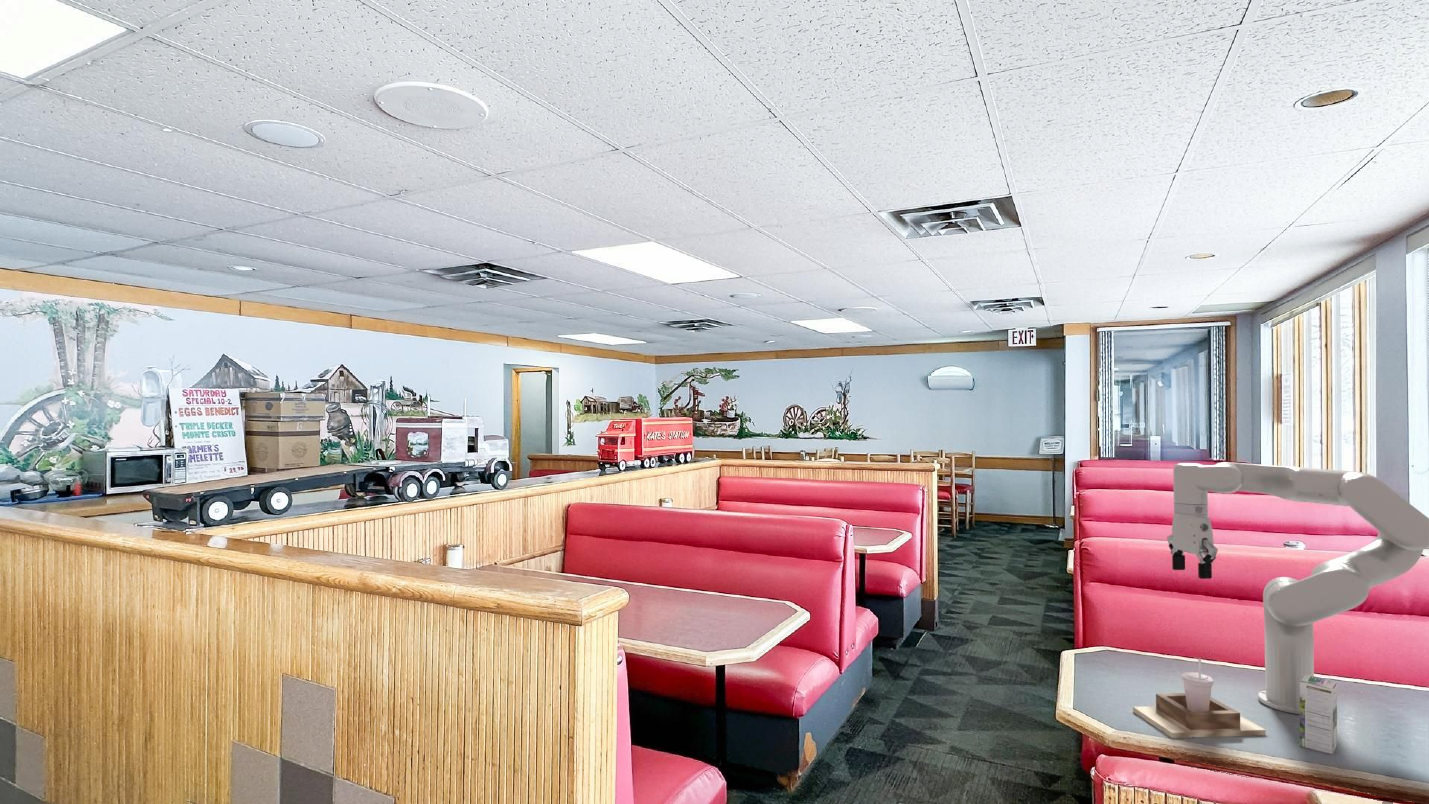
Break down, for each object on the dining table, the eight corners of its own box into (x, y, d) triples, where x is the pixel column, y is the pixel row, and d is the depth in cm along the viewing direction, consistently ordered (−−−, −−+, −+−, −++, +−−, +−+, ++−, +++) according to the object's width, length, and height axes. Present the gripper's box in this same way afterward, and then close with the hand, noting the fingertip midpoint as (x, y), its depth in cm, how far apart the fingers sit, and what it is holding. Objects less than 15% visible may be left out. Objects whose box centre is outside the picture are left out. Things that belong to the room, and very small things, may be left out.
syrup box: (1303, 738, 160) (1302, 673, 160) (1338, 747, 156) (1337, 680, 156) (1299, 746, 157) (1298, 680, 157) (1334, 755, 152) (1333, 688, 152)
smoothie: (1219, 724, 165) (1218, 664, 165) (1189, 722, 166) (1188, 663, 166) (1206, 712, 171) (1205, 654, 171) (1176, 711, 172) (1175, 653, 172)
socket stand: (1219, 709, 176) (1219, 690, 176) (1265, 735, 162) (1265, 714, 162) (1133, 711, 175) (1132, 692, 175) (1172, 738, 161) (1172, 717, 161)
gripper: (1229, 514, 181) (1230, 581, 181) (1181, 505, 198) (1182, 566, 198) (1200, 514, 181) (1201, 582, 180) (1155, 505, 198) (1156, 567, 198)
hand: (1191, 573), depth 189 cm, fingers open, 9 cm apart
